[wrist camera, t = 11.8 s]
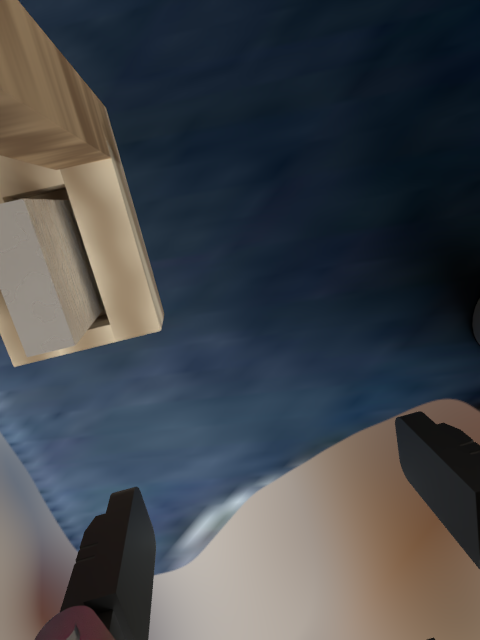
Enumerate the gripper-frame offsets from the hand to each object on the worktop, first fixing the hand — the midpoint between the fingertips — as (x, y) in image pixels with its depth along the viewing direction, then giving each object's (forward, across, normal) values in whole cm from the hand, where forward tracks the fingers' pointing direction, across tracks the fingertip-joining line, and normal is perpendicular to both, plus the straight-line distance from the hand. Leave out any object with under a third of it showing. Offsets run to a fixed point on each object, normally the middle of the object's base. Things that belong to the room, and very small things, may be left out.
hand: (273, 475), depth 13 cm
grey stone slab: (+27, +11, -6) cm, 30 cm away
